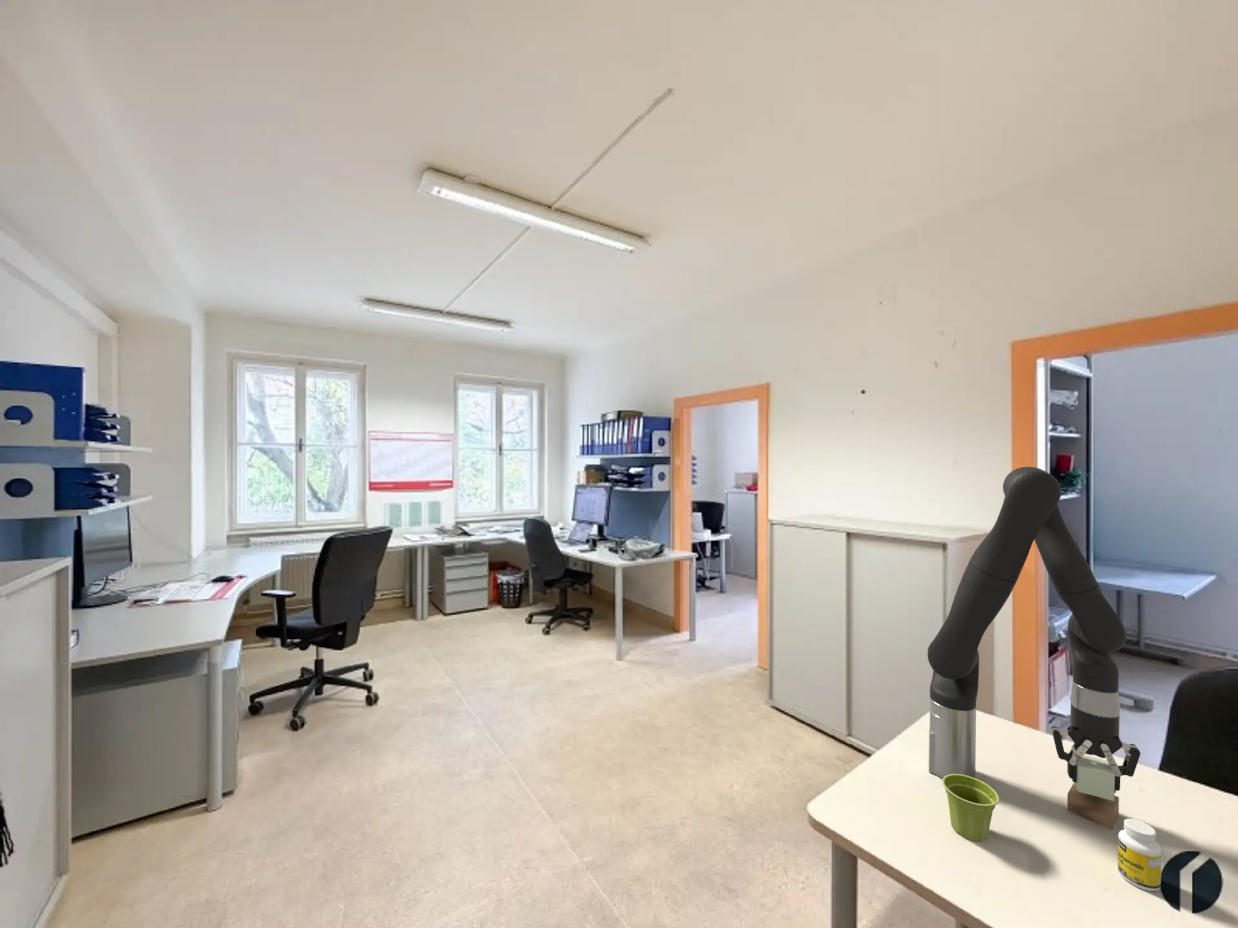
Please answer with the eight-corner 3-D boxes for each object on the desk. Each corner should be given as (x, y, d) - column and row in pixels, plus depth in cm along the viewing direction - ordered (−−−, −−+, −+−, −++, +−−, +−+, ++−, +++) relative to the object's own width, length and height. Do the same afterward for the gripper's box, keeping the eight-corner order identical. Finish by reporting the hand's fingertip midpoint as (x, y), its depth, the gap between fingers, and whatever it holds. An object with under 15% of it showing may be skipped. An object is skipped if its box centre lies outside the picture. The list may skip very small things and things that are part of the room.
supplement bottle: (1108, 868, 94) (1110, 816, 93) (1135, 866, 94) (1137, 814, 94) (1141, 893, 88) (1142, 838, 88) (1169, 891, 89) (1171, 836, 88)
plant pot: (988, 819, 106) (988, 778, 106) (1006, 853, 97) (1006, 809, 97) (936, 809, 109) (937, 769, 109) (949, 841, 100) (949, 798, 100)
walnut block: (1067, 812, 108) (1067, 793, 108) (1074, 797, 113) (1075, 780, 113) (1112, 831, 103) (1112, 811, 103) (1118, 815, 107) (1118, 796, 107)
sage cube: (1078, 791, 107) (1078, 765, 107) (1072, 776, 112) (1073, 752, 111) (1114, 800, 104) (1114, 774, 104) (1107, 785, 109) (1107, 760, 108)
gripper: (1053, 704, 108) (1051, 783, 108) (1148, 724, 100) (1146, 808, 101) (1047, 690, 114) (1046, 764, 115) (1136, 708, 106) (1134, 787, 107)
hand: (1093, 784), depth 108 cm, fingers closed on sage cube, 5 cm apart
